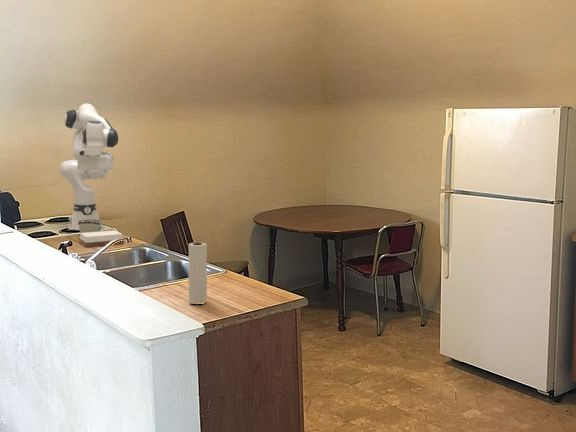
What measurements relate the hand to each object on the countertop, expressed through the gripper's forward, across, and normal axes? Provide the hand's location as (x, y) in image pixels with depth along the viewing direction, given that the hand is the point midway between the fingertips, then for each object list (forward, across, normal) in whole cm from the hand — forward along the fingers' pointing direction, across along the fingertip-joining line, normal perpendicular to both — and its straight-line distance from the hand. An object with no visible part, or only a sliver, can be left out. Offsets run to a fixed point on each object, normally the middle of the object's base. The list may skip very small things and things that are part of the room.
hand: (95, 178), depth 348 cm
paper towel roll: (+43, -104, +87) cm, 142 cm away
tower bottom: (+33, -10, +10) cm, 36 cm away
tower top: (+30, -10, +11) cm, 34 cm away
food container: (+32, +2, +2) cm, 32 cm away
